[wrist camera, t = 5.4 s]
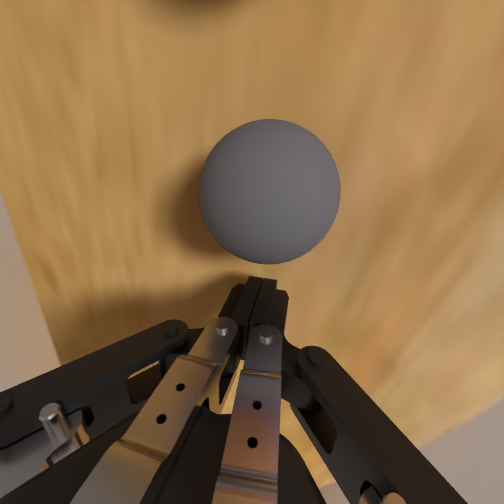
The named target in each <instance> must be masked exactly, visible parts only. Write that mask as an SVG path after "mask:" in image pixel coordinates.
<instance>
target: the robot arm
mask: <svg viewBox="0 0 504 504" xmlns="http://www.w3.org/2000/svg"><path fill="white" fill-rule="evenodd" d="M288 300H289V297H288V295H287V293H286V291H284V290H277V280H274V279H267V278H264V279H263V278H260V277H254V276H249V278H248V280H247V283H246V285H245V284H237V285H236V286H235V287H233V288H232V290H231V292H230V294H229V296H228V298H227V301H226V302H225V304H224V306H223V308H222V310H221V312H220V314H219V316H218V318H215V319H213V320H211V321H210V322H209V323H208V324H207V326H206V327H205V328H200V329H188V327H187V325H186V324H185V323H184V322H183V321H180V320H168V321H165V322H163V323H160V324H158V325H156V326H153V327H151V328H149V329H146V330H144V331H142V332H139V333H137V334H135V335H132V336H130V337H128V338H125V339H123V340H121V341H118V342H116V343H114V344H112V345H109V346H107V347H105V348H102V349H100V350H98V351H95V352H93V353H91V354H88V355H86V356H84V357H81V358H79V359H77V360H74V361H72V362H70V363H68V364H65V365H63V366H61V367H58V368H56V369H54V370H51V371H49V372H47V373H45V374H42V375H40V376H37V377H35V378H33V379H31V380H28V381H26V382H23V383H21V384H19V385H17V386H14V387H12V388H10V389H7V390H5V391H3V392H0V504H326V502H325V500H324V498H323V496H322V494H321V493H320V491H319V489H318V487H317V485H316V483H315V481H314V479H313V477H312V475H311V474H310V472H309V470H308V468H307V466H306V464H305V462H304V460H303V459H302V457H301V455H300V454H299V452H298V451H297V449H296V448H295V447H294V446H293V445H292V443H291V442H290V441H289V440H288V439H286V438H285V437H284V436H283V435H281V434H280V433H279V429H280V405H281V398H282V399H284V400H286V401H288V402H289V403H290V406H291V409H292V411H293V413H294V414H295V416H296V418H297V419H298V421H299V422H300V424H301V426H302V427H303V429H304V430H305V432H306V434H307V435H308V437H309V438H310V440H311V442H312V443H313V445H314V446H315V448H316V450H317V451H318V453H319V454H320V456H321V458H322V459H323V461H324V462H325V464H326V466H327V467H328V469H329V471H330V472H331V474H332V475H333V477H334V479H335V480H336V482H337V483H338V485H339V486H340V488H341V490H342V491H343V493H344V495H345V496H346V498H347V499H348V501H349V503H350V504H468V503H467V502H466V501H465V500H464V499H463V498H462V497H461V496H460V495H459V494H458V493H457V492H456V490H455V489H454V488H453V487H452V486H451V485H450V484H449V483H448V482H447V481H446V480H445V478H444V477H443V476H442V475H441V474H440V473H439V472H438V471H437V470H436V469H435V468H434V466H433V465H432V464H431V463H430V462H429V461H428V460H427V459H426V458H425V457H424V456H423V455H422V454H421V452H420V451H419V450H418V449H417V448H416V447H415V446H414V445H413V444H412V443H411V442H410V440H409V439H408V438H407V437H406V436H405V435H404V434H403V433H402V432H401V431H400V430H399V428H398V427H397V426H396V425H395V424H394V423H393V422H392V421H391V420H390V419H389V418H388V417H387V415H386V414H385V413H384V412H383V411H382V410H381V409H380V408H379V407H378V406H377V405H376V404H375V402H374V401H373V400H372V399H371V398H370V397H369V396H368V395H367V394H366V393H365V392H364V391H363V389H362V388H361V387H360V386H359V385H358V384H357V383H356V382H355V381H354V380H353V379H352V378H351V376H350V375H349V374H348V373H347V372H346V371H345V370H344V369H343V368H342V367H341V366H340V365H339V363H338V362H337V361H336V360H335V359H334V358H333V357H332V356H331V355H330V354H329V353H328V352H327V351H326V350H324V349H322V348H320V347H317V346H306V347H304V348H302V349H299V348H297V347H295V346H293V345H291V344H290V343H289V342H288V341H287V340H286V338H285V336H284V329H285V323H286V315H287V307H288ZM240 359H241V360H245V361H244V366H243V370H241V372H240V377H239V382H238V386H237V391H236V396H235V401H234V406H233V411H232V414H221V412H222V409H223V407H224V404H225V402H226V399H227V397H228V394H229V392H230V389H231V387H232V384H233V382H234V380H235V377H236V374H237V368H238V365H239V362H240ZM158 360H159V364H157V365H155V366H153V367H151V368H149V369H147V370H145V371H143V372H141V373H139V374H137V375H135V376H134V377H132V378H130V379H128V377H129V376H130V375H132V374H133V373H135V372H137V371H139V370H141V369H143V368H145V367H146V366H148V365H150V364H152V363H154V362H156V361H158Z"/></svg>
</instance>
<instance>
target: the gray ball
mask: <svg viewBox="0 0 504 504" xmlns="http://www.w3.org/2000/svg"><path fill="white" fill-rule="evenodd" d="M339 202H340V180H339V174H338V170H337V167H336V164H335V162H334V160H333V158H332V156H331V154H330V152H329V151H328V149H327V148H326V147H325V145H324V144H323V143H322V142H321V141H320V140H319V139H318V138H317V137H316V136H315V135H314V134H312V133H311V132H310V131H308V130H307V129H305V128H303V127H301V126H299V125H297V124H294V123H292V122H288V121H283V120H276V119H263V120H257V121H252V122H249V123H246V124H244V125H242V126H240V127H238V128H236V129H234V130H232V131H231V132H229V133H228V134H227V135H225V136H224V137H223V138H222V139H221V140H220V141H219V142H218V143H217V144H216V145H215V147H214V148H213V149H212V151H211V152H210V154H209V156H208V157H207V159H206V161H205V163H204V166H203V169H202V172H201V175H200V181H199V205H200V210H201V214H202V217H203V219H204V222H205V224H206V226H207V228H208V230H209V231H210V233H211V234H212V236H213V237H214V238H215V240H216V241H217V242H218V243H219V244H220V245H221V246H222V247H223V248H225V249H226V250H227V251H228V252H230V253H231V254H233V255H235V256H237V257H239V258H241V259H243V260H246V261H249V262H253V263H258V264H279V263H283V262H288V261H291V260H294V259H296V258H298V257H301V256H302V255H304V254H306V253H307V252H309V251H310V250H312V249H313V248H314V247H315V246H316V245H317V244H318V243H319V242H320V241H321V240H322V239H323V238H324V237H325V235H326V234H327V232H328V231H329V229H330V228H331V226H332V224H333V222H334V220H335V217H336V214H337V211H338V208H339Z"/></svg>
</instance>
